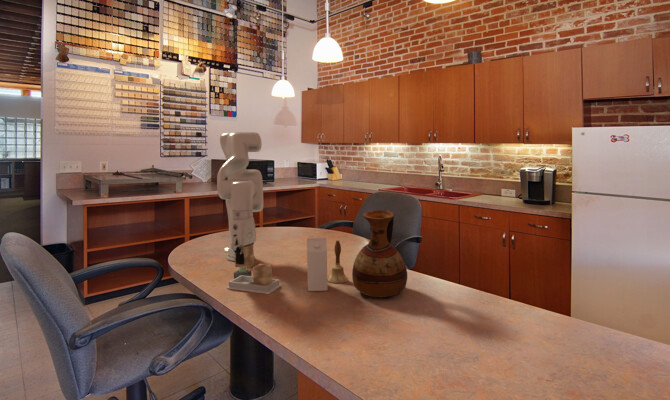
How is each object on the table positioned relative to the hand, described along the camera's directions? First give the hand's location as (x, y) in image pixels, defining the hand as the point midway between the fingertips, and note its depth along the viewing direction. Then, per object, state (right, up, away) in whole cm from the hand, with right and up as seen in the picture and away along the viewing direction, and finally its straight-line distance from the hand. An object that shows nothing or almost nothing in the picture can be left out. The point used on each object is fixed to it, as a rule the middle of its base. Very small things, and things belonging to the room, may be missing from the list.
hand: (244, 261), depth 150 cm
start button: (-3, -8, +10) cm, 13 cm away
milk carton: (+28, -10, -2) cm, 29 cm away
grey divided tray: (+4, -10, 0) cm, 10 cm away
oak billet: (0, -2, 0) cm, 2 cm away
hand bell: (+35, -9, +7) cm, 37 cm away
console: (-3, -9, +10) cm, 14 cm away
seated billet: (+7, -10, -1) cm, 12 cm away
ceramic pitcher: (+50, -10, -6) cm, 52 cm away
